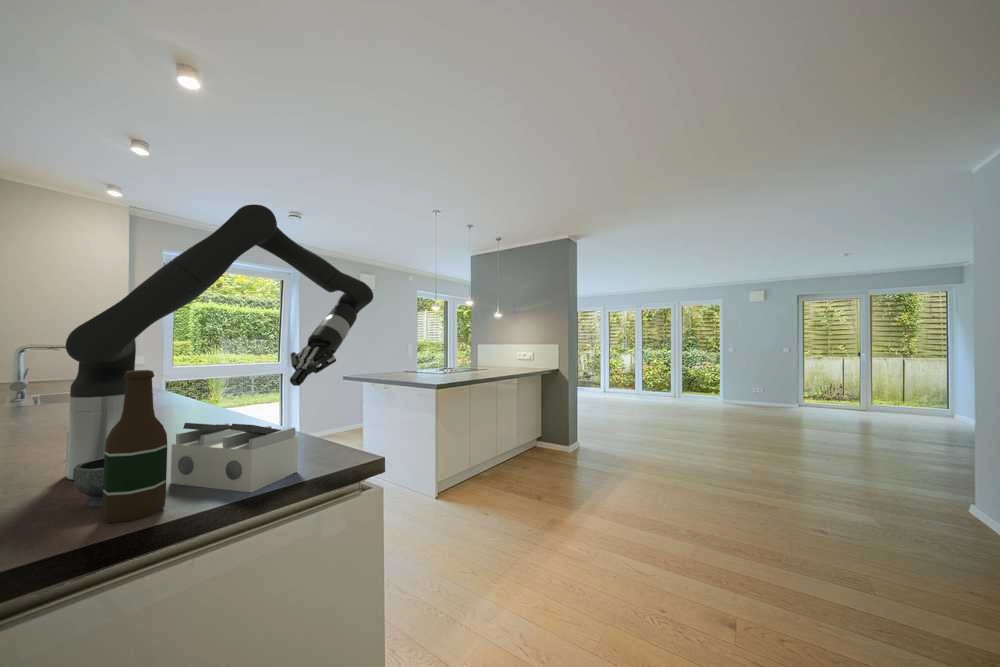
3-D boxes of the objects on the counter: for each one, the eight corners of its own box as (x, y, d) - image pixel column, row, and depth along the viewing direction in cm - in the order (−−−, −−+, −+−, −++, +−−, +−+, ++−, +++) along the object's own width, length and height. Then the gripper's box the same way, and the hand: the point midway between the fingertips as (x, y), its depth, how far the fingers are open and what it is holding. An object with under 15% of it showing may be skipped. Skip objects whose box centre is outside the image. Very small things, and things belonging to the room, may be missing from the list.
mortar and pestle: (113, 510, 65) (116, 439, 65) (54, 512, 64) (57, 440, 64) (166, 486, 76) (168, 426, 76) (117, 487, 75) (119, 426, 75)
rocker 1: (183, 428, 78) (185, 422, 79) (226, 431, 87) (227, 425, 88) (202, 429, 77) (204, 423, 77) (243, 432, 86) (245, 426, 87)
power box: (168, 484, 77) (170, 434, 77) (225, 465, 89) (226, 422, 89) (249, 493, 72) (250, 440, 73) (297, 472, 84) (298, 427, 85)
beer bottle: (125, 526, 59) (131, 372, 60) (87, 521, 60) (93, 371, 61) (177, 505, 66) (181, 369, 67) (142, 502, 68) (147, 368, 69)
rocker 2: (230, 429, 75) (232, 422, 76) (268, 435, 85) (270, 429, 85) (250, 431, 74) (252, 424, 75) (287, 437, 83) (289, 430, 84)
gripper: (302, 324, 102) (262, 372, 90) (345, 324, 99) (309, 374, 87) (315, 344, 107) (279, 392, 95) (356, 344, 104) (324, 394, 92)
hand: (294, 383), depth 91 cm, fingers closed
